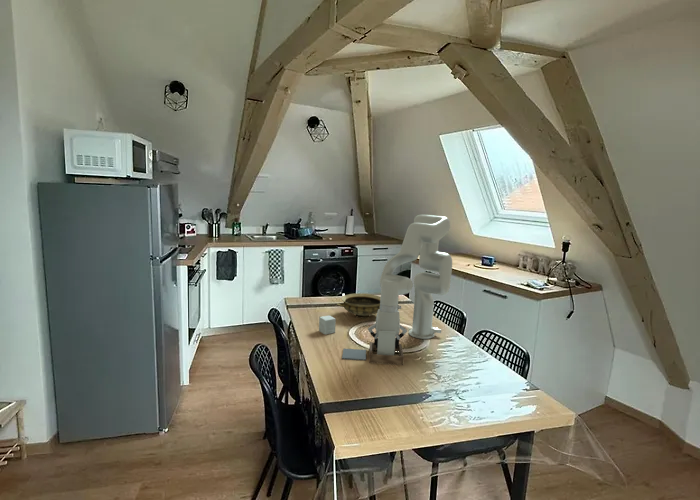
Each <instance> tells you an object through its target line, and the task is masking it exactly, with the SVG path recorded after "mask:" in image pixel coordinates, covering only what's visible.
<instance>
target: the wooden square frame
mask: <svg viewBox="0 0 700 500" xmlns="http://www.w3.org/2000/svg"><path fill="white" fill-rule="evenodd" d="M374 350H375V351H374ZM376 350H377V348H376V345H374V341H372V342H371V341H369V350H368V352H369V354H368V356H369V358H368V359H369V364H381V365H395V366H396V365H397V366H404V360H405V357H404V351H403V346H402V344H401V343H399V346H398V347H397V349H396V348H395V351H397V352H396V353H398V355H395V354H394V355H378V354H377V353H375V354H374V353H373V352H377V351H376ZM398 351H399V352H398Z"/></svg>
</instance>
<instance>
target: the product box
mask: <svg viewBox="0 0 700 500" xmlns="http://www.w3.org/2000/svg"><path fill="white" fill-rule="evenodd" d="M318 320H319V321H318V332H319V333H321V334H323V335H325V336H326V335H329V334H334V333H336V318H335V317H333V316H331V315H323V316H319V319H318Z"/></svg>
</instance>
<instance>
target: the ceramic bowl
mask: <svg viewBox="0 0 700 500" xmlns="http://www.w3.org/2000/svg"><path fill="white" fill-rule="evenodd" d="M380 297H381V295H380V296H379V295H375V294H370V293H361V292H360V293H349V294H345V295H342V296H341V301H342V302H343V303H342V302H341V303H340V302H338V303H336V306H338V307H342V308H344V309H345V311H346V312H348V313H350V314H353V315H355V317H356V318H359V319H368V318H370V317H371V316H372V315H377V311H378V309H380Z"/></svg>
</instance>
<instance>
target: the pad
mask: <svg viewBox="0 0 700 500" xmlns="http://www.w3.org/2000/svg"><path fill="white" fill-rule="evenodd" d="M341 359H342V360H351V361H363V362H364V361H365V362H366V360H367V349H357V348H343V350H342V356H341Z"/></svg>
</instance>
